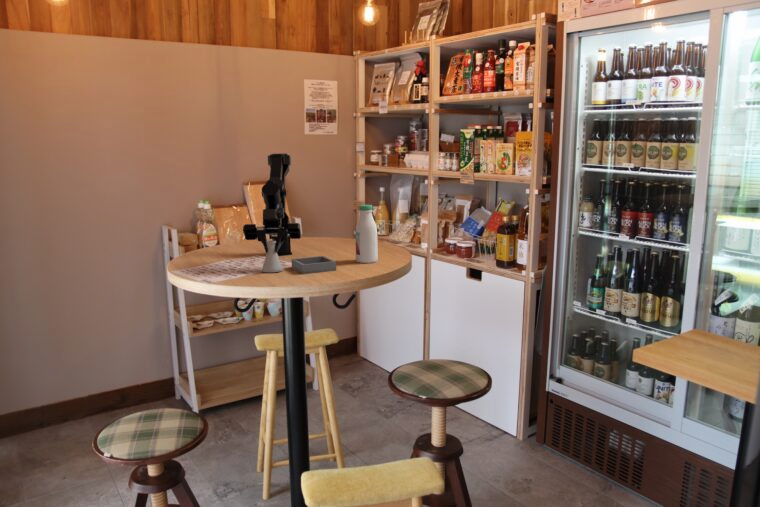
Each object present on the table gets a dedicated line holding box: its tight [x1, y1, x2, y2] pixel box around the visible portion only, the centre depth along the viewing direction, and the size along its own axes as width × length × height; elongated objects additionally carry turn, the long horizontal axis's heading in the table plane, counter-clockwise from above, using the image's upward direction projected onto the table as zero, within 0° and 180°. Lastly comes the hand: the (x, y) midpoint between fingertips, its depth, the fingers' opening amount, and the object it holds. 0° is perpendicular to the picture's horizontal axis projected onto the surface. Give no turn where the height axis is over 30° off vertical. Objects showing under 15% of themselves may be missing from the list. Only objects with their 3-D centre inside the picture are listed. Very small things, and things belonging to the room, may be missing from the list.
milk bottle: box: [355, 204, 379, 264], centre depth 215 cm, size 8×8×20 cm
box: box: [290, 255, 337, 275], centre depth 204 cm, size 12×12×3 cm
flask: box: [261, 240, 285, 273], centre depth 202 cm, size 7×7×10 cm
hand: (271, 251), depth 200 cm, fingers closed on flask, 3 cm apart
